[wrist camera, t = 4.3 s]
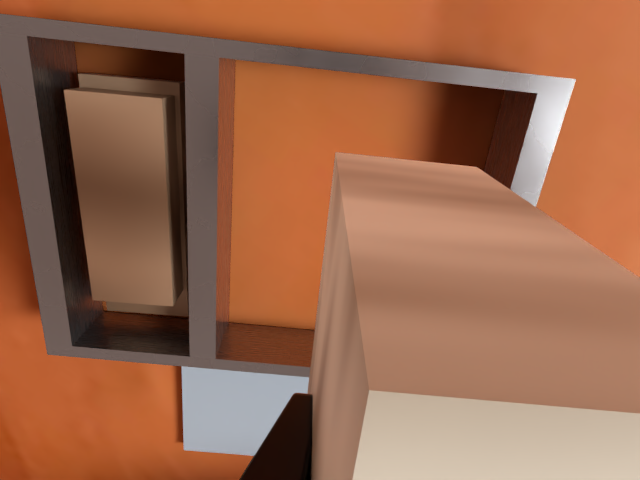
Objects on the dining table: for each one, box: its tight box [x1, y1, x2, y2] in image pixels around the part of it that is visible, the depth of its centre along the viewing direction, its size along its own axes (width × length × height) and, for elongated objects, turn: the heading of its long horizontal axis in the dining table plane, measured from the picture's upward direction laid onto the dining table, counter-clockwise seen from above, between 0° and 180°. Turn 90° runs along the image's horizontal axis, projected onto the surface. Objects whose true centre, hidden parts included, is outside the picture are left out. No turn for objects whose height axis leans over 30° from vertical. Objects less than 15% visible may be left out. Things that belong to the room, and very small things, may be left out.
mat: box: [182, 366, 309, 456], centre depth 25 cm, size 7×16×1 cm, turn 84°
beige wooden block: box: [307, 152, 640, 480], centre depth 8 cm, size 10×3×7 cm, turn 174°
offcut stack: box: [64, 73, 189, 317], centre depth 19 cm, size 11×4×3 cm, turn 175°
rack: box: [0, 14, 576, 377], centre depth 19 cm, size 14×20×3 cm
